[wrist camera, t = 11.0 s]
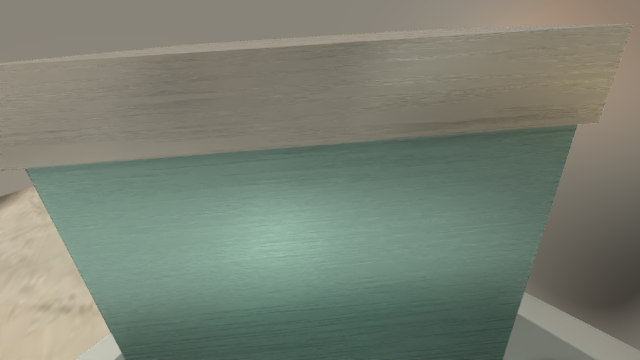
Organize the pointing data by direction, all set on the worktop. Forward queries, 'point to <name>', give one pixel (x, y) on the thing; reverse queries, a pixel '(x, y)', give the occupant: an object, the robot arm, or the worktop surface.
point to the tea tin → (309, 185)
